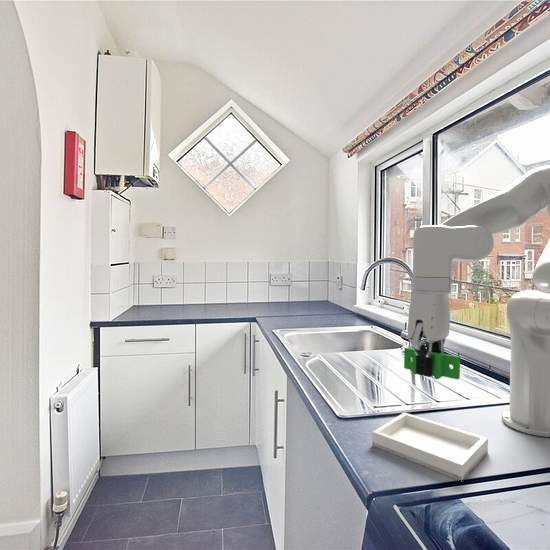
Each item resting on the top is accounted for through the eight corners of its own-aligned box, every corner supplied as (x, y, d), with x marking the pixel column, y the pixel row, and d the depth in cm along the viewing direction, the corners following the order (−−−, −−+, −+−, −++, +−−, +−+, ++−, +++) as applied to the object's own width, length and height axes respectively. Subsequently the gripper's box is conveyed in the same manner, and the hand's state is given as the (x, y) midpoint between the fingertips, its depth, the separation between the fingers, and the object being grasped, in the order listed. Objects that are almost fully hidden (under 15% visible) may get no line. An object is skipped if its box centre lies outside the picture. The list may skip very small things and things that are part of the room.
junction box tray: (404, 424, 89) (404, 412, 89) (487, 452, 76) (487, 438, 76) (372, 445, 79) (372, 431, 79) (461, 481, 66) (462, 465, 66)
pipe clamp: (398, 371, 81) (399, 350, 81) (406, 367, 84) (406, 347, 84) (454, 382, 73) (454, 359, 73) (459, 378, 76) (460, 355, 76)
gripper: (431, 283, 86) (429, 362, 87) (394, 286, 75) (392, 377, 76) (466, 285, 81) (463, 369, 81) (431, 288, 69) (428, 386, 70)
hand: (429, 372), depth 78 cm, fingers closed on pipe clamp, 4 cm apart
